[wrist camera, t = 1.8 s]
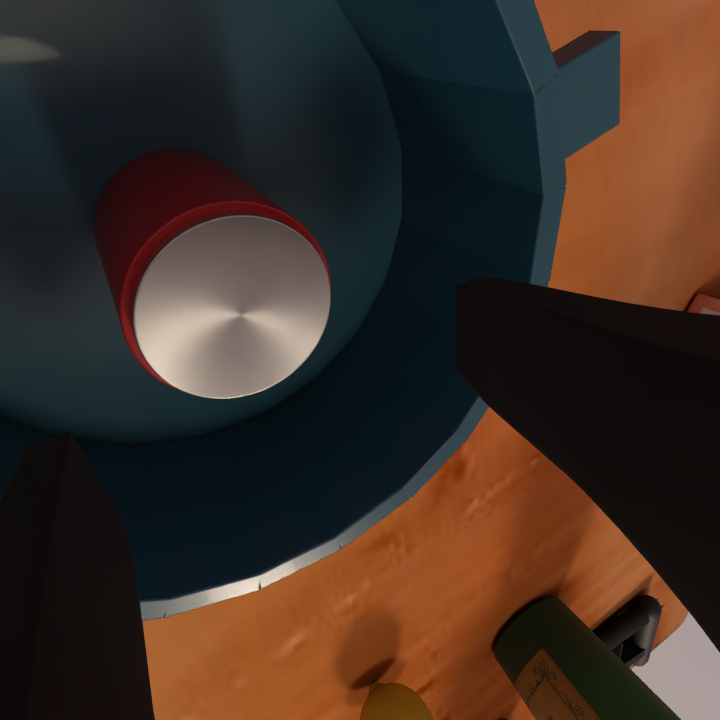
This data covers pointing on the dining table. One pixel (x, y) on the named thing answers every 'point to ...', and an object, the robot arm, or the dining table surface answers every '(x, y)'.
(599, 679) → the bottle
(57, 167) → the cooking pot
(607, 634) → the door handle
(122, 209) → the can
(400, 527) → the dining table surface
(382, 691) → the lemon
